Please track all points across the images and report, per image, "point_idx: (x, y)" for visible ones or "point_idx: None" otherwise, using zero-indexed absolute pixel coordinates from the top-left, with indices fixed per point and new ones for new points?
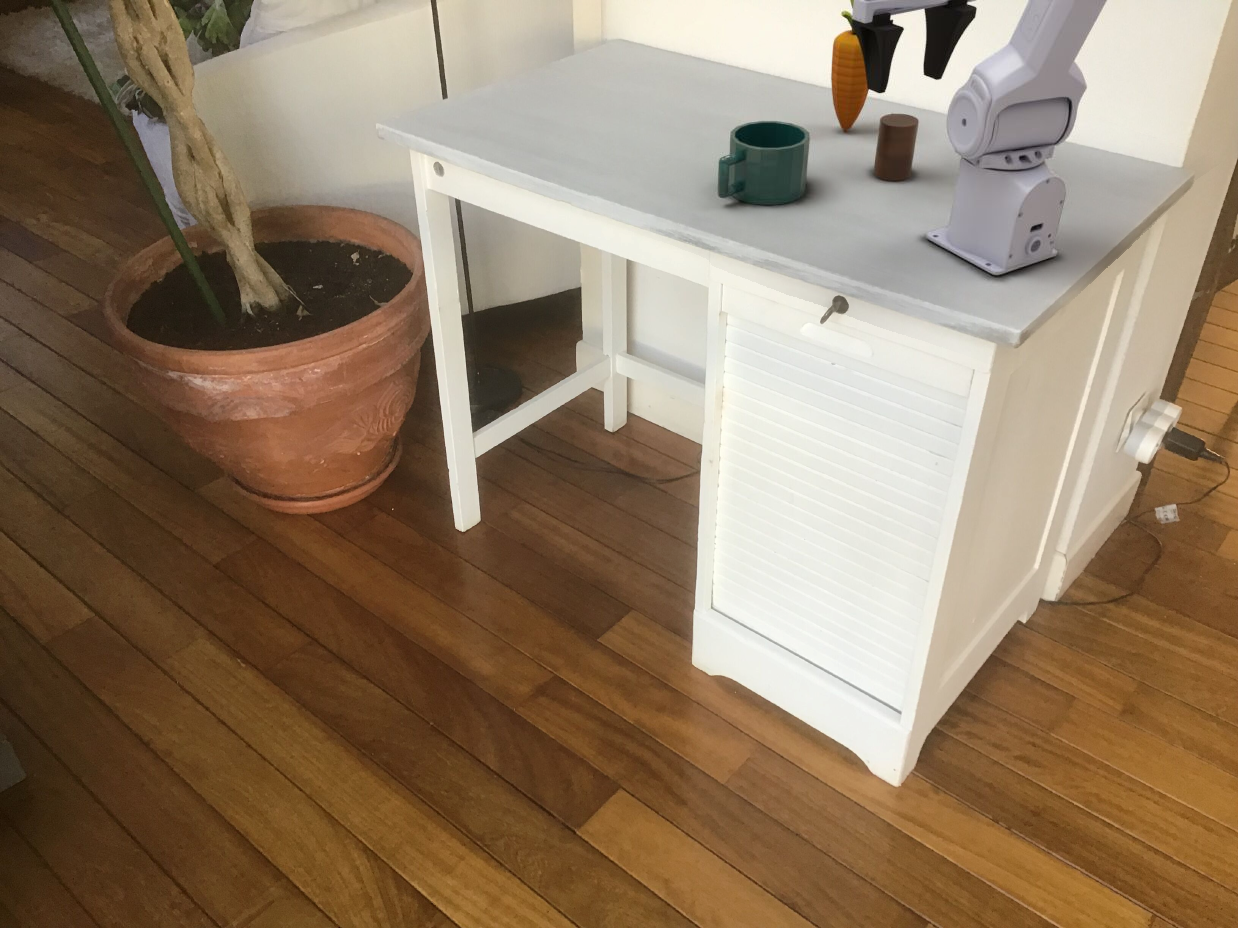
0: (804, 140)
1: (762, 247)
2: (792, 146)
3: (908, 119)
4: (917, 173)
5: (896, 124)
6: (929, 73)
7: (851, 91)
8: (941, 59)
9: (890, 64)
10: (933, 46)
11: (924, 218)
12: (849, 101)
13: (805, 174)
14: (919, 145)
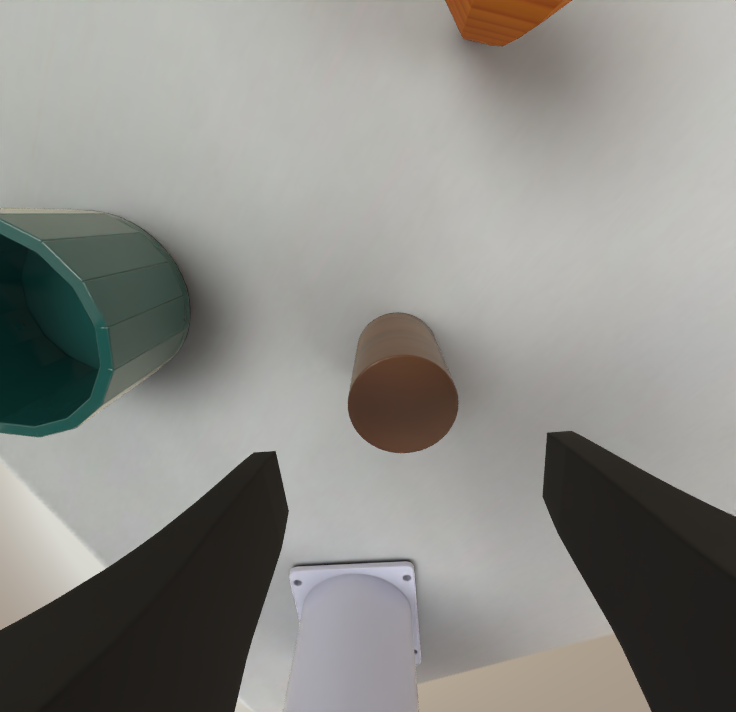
0: (81, 412)
1: (41, 489)
2: (38, 432)
3: (428, 414)
4: (448, 369)
5: (373, 430)
6: (552, 467)
7: (473, 17)
8: (584, 567)
9: (250, 633)
10: (622, 550)
11: (333, 516)
12: (465, 28)
13: (152, 371)
14: (572, 234)
